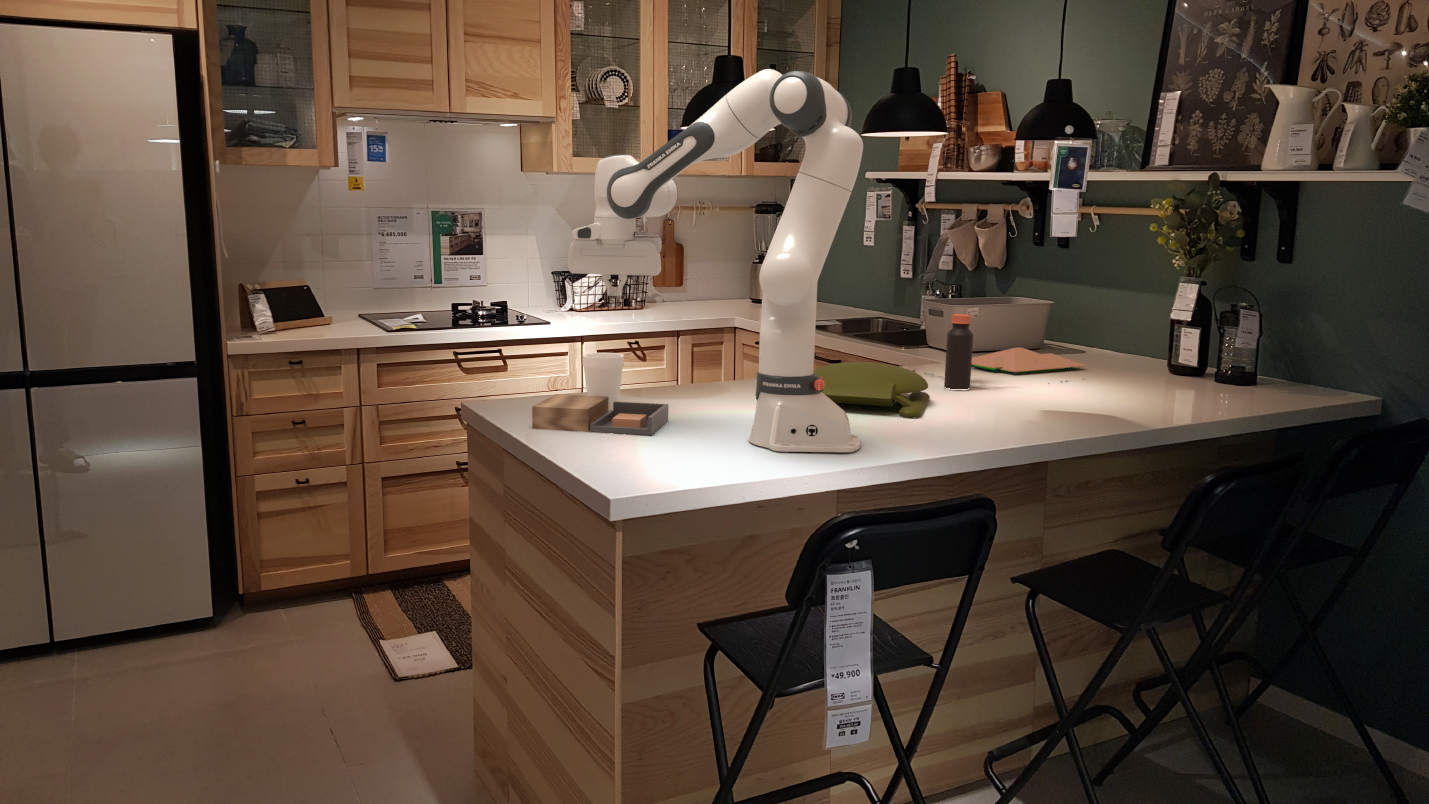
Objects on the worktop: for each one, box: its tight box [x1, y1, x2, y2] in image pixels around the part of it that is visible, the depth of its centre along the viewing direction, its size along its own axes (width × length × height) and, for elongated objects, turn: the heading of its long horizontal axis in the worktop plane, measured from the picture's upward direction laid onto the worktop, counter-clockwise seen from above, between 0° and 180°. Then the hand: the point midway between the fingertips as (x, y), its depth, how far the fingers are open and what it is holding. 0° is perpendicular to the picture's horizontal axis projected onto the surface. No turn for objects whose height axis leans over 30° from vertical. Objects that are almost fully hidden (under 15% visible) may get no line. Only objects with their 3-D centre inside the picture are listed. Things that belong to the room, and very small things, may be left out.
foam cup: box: [582, 352, 625, 411], centre depth 246 cm, size 10×9×13 cm
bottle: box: [943, 313, 974, 389], centre depth 287 cm, size 7×7×20 cm
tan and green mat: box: [971, 347, 1088, 376], centre depth 321 cm, size 23×33×8 cm
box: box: [589, 401, 669, 437], centre depth 229 cm, size 13×16×4 cm
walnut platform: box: [531, 393, 609, 433], centre depth 231 cm, size 12×16×5 cm
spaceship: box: [814, 361, 931, 418], centre depth 266 cm, size 35×31×10 cm
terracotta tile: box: [612, 413, 647, 428], centre depth 229 cm, size 6×6×2 cm
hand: (614, 295), depth 235 cm, fingers closed
